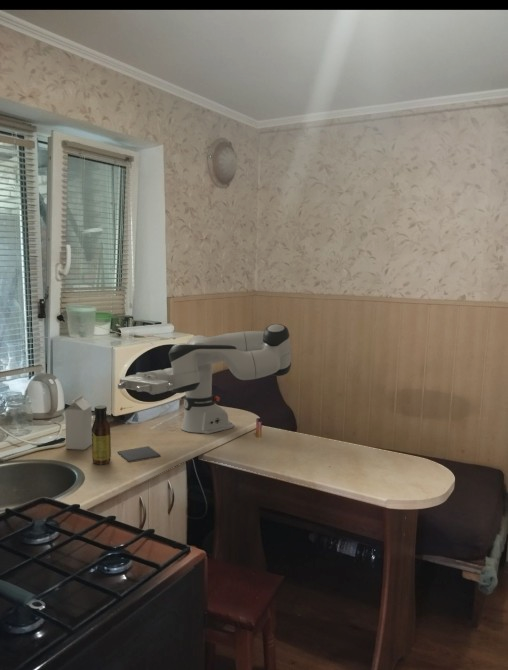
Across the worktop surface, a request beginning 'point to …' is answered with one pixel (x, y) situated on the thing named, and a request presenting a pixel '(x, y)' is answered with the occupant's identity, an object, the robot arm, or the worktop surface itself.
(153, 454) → the mat
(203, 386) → the robot arm
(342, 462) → the worktop surface
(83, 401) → the milk carton
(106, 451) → the sauce bottle
